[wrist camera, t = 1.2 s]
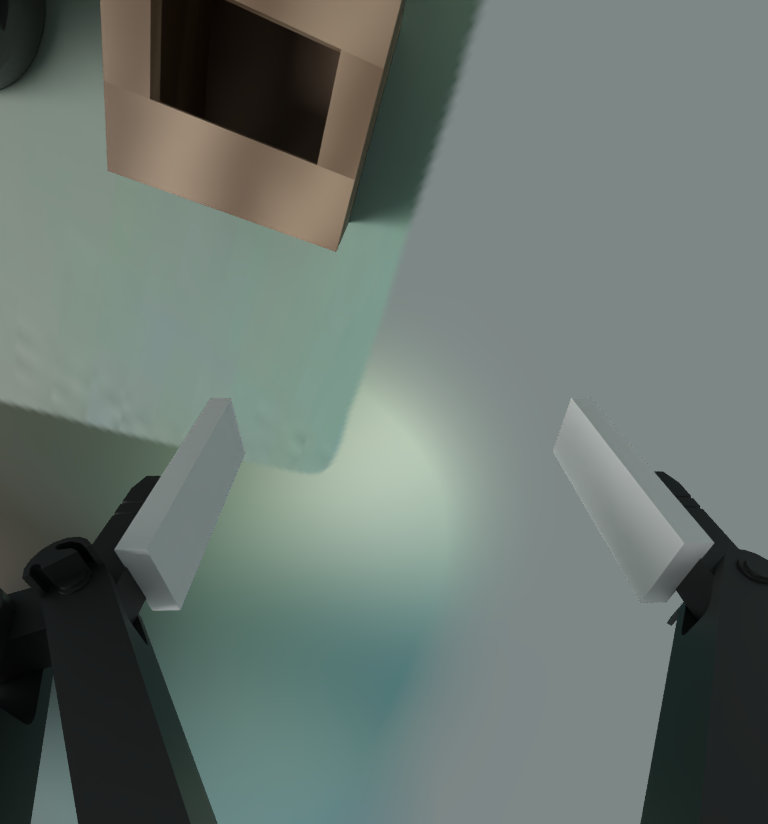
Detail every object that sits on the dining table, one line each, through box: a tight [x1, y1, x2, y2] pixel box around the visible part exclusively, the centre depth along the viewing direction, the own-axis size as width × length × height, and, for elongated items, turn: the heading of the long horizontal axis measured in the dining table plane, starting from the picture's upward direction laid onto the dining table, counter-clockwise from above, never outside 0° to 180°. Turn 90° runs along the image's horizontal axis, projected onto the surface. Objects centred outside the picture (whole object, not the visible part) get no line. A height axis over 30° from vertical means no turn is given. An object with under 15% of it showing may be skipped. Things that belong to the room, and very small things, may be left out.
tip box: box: [100, 0, 405, 252], centre depth 22 cm, size 12×12×11 cm
